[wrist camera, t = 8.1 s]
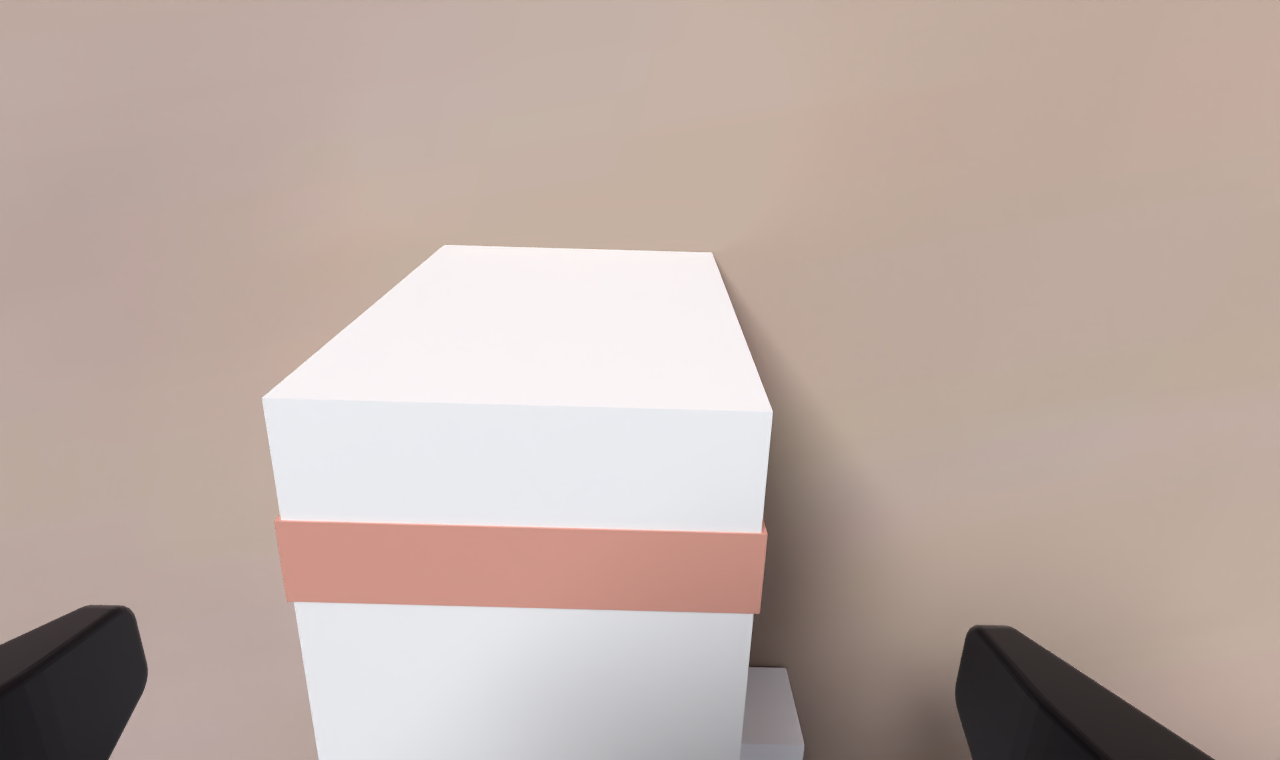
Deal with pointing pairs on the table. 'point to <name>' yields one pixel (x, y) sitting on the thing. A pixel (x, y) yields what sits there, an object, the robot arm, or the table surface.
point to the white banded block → (527, 511)
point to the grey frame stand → (770, 717)
